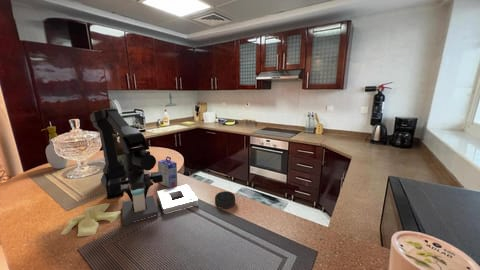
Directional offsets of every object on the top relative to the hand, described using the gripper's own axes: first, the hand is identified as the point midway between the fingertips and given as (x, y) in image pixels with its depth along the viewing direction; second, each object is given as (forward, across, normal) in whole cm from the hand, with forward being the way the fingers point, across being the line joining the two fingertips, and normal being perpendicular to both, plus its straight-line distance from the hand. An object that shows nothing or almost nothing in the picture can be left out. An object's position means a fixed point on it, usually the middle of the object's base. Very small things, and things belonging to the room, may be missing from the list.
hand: (138, 200), depth 80 cm
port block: (+5, +15, 0) cm, 16 cm away
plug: (+3, 0, 0) cm, 3 cm away
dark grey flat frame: (+5, 0, 0) cm, 5 cm away
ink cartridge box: (+5, +15, +20) cm, 26 cm away
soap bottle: (+5, -41, +76) cm, 87 cm away
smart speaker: (+5, +33, -12) cm, 35 cm away
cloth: (+6, -17, +2) cm, 18 cm away
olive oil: (+5, -8, +40) cm, 41 cm away
